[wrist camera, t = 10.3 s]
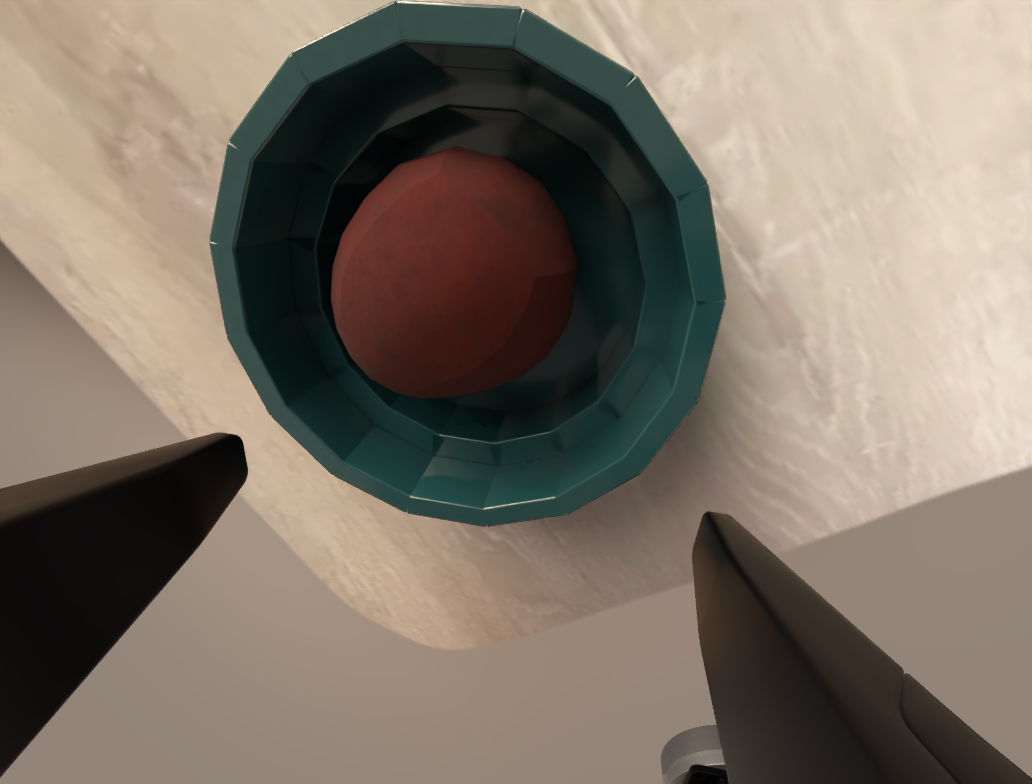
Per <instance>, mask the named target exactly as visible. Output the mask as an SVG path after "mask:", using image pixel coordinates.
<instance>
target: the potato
mask: <svg viewBox="0 0 1032 784" xmlns="http://www.w3.org/2000/svg"><path fill="white" fill-rule="evenodd" d="M577 269H578V261H577V257H576V254H575V250H574V246H573V243H572V239H571V235H570V232H569V228H568V224H567V221H566V218H565V217H564V215H563V213H562V212H561V210H560V209H559V207H558V206H557V204H556V203H555V201H554V200H553V198H552V197H551V195H550V194H549V192H548V191H547V189H546V188H545V186H544V185H543V183H542V182H540V181H539V180H537V179H536V178H534V177H533V176H531V175H530V174H529V173H527V172H526V171H524V170H523V169H521V168H520V167H518V166H517V165H515V164H514V163H512V162H511V161H509V160H507V159H504V158H501V157H497V156H493V155H489V154H486V153H482V152H478V151H474V150H470V149H466V148H463V147H459V146H454V147H451V148H448V149H445V150H441V151H438V152H435V153H432V154H429V155H426V156H423V157H420V158H417V159H413V160H410V161H407V162H404V163H401V164H398V165H397V166H396V167H395V168H394V169H393V170H392V171H391V172H390V173H389V174H388V175H387V176H386V177H385V178H384V179H383V180H382V181H381V182H380V183H379V184H378V185H377V186H376V187H375V188H374V189H373V190H372V191H371V192H370V193H369V194H368V196H367V197H366V198H365V199H364V200H363V202H362V204H361V205H360V207H359V208H358V210H357V212H356V213H355V215H354V216H353V218H352V220H351V221H350V223H349V224H348V226H347V228H346V229H345V231H344V232H343V234H342V237H341V240H340V244H339V247H338V250H337V254H336V257H335V260H334V264H333V267H332V286H331V302H332V307H333V312H334V318H335V323H336V328H337V331H338V333H339V335H340V337H341V339H342V341H343V343H344V345H345V347H346V349H347V351H348V353H349V355H350V357H351V358H352V359H353V360H354V361H355V362H356V364H357V365H358V366H359V367H360V368H361V369H362V370H363V371H364V372H365V373H366V375H367V376H368V377H369V378H370V379H372V380H374V381H375V382H377V383H379V384H381V385H383V386H384V387H386V388H388V389H390V390H392V391H393V392H395V393H399V394H404V395H408V396H413V397H417V398H444V397H454V396H459V395H464V394H470V393H476V392H481V391H487V390H490V389H493V388H495V387H498V386H500V385H502V384H505V383H507V382H510V381H512V380H515V379H517V378H519V377H522V376H524V375H525V374H526V373H528V372H529V371H530V370H531V369H532V368H534V367H535V366H536V365H537V364H539V363H540V362H541V361H542V360H544V359H545V358H546V357H547V356H548V354H549V353H550V351H551V350H552V348H553V347H554V345H555V344H556V342H557V341H558V339H559V338H560V336H561V335H562V333H563V332H564V330H565V329H566V327H567V324H568V321H569V318H570V316H571V313H572V308H573V300H574V292H575V285H576V277H577Z"/></svg>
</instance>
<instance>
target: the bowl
mask: <svg viewBox="0 0 1032 784" xmlns="http://www.w3.org/2000/svg"><path fill="white" fill-rule="evenodd" d="M229 141H230V142H229V143H228V144H227V150H226V155H225V160H224V165H223V171H222V176H221V181H220V187H219V192H218V197H217V203H216V208H215V213H214V219H213V224H212V229H211V234H210V241H211V242H210V249H211V255H212V260H213V265H214V271H215V276H216V282H217V287H218V292H219V298H220V303H221V309H222V314H223V319H224V325H225V330H226V334H227V335H228V336H227V338H228V340H229V342H230V344H231V346H232V347H233V349H234V351H235V353H236V355H237V357H238V358H239V360H240V362H241V364H242V366H243V367H244V369H245V371H246V373H247V375H248V376H249V378H250V380H251V382H252V384H253V385H254V387H255V389H256V391H257V393H258V394H259V396H260V398H261V400H262V402H263V403H264V405H265V407H266V409H267V411H268V412H269V414H270V415H272V418H273V419H274V420H275V421H277V422H278V423H279V424H280V425H281V426H282V427H283V428H284V429H285V430H286V431H287V432H288V433H289V434H290V435H291V436H292V437H293V438H294V439H295V440H296V441H297V442H298V443H299V444H300V445H301V446H302V447H304V448H305V449H306V450H307V451H308V452H309V453H310V454H311V455H312V456H313V457H314V458H315V459H316V460H317V461H318V462H319V463H320V464H321V465H322V466H323V467H324V468H325V469H326V470H327V471H328V472H329V473H331V474H332V475H334V476H335V477H337V478H339V479H341V480H343V481H345V482H347V483H349V484H351V485H353V486H355V487H356V488H358V489H360V490H362V491H364V492H366V493H368V494H370V495H372V496H374V497H376V498H378V499H380V500H382V501H384V502H386V503H388V504H390V505H392V506H393V507H395V508H397V509H399V510H401V511H403V512H407V513H408V514H414V515H419V516H425V517H431V518H437V519H442V520H448V521H454V522H460V523H465V524H471V525H477V526H483V527H486V526H488V527H490V526H496V525H503V524H509V523H516V522H522V521H529V520H535V519H542V518H548V517H555V516H561V515H565V514H570V513H571V512H573V511H575V510H577V509H579V508H580V507H582V506H584V505H586V504H587V503H589V502H591V501H593V500H595V499H596V498H598V497H600V496H602V495H604V494H605V493H607V492H609V491H611V490H613V489H614V488H616V487H618V486H620V485H621V484H623V483H625V482H627V481H629V480H630V479H632V478H634V477H636V476H638V475H639V474H640V473H641V472H643V470H644V469H645V468H646V467H647V465H648V464H649V463H650V462H651V460H652V459H653V458H654V457H655V455H656V454H657V453H658V452H659V450H660V449H661V448H662V447H663V445H664V444H665V443H666V442H667V440H668V439H669V438H670V437H671V435H672V434H673V433H674V432H675V430H676V429H677V428H678V427H679V425H680V424H681V423H682V422H683V420H684V419H685V418H686V417H687V415H688V414H689V413H690V412H691V410H692V409H693V408H694V407H695V405H696V404H697V403H698V399H699V398H700V395H701V392H702V388H703V384H704V381H705V377H706V373H707V370H708V366H709V362H710V358H711V355H712V351H713V347H714V344H715V340H716V336H717V333H718V329H719V325H720V321H721V318H722V314H723V310H724V307H725V300H726V292H725V286H724V279H723V273H722V266H721V260H720V254H719V247H718V241H717V234H716V228H715V222H714V215H713V209H712V202H711V196H710V190H709V185H708V184H707V180H706V178H705V177H704V175H703V174H702V172H701V171H700V169H699V168H698V166H697V165H696V163H695V162H694V160H693V159H692V157H691V156H690V154H689V153H688V151H687V150H686V148H685V147H684V145H683V144H682V142H681V141H680V139H679V137H678V136H677V134H676V133H675V131H674V130H673V128H672V127H671V125H670V124H669V122H668V121H667V119H666V118H665V116H664V115H663V113H662V112H661V110H660V109H659V107H658V106H657V104H656V103H655V101H654V100H653V98H652V97H651V95H650V94H649V92H648V91H647V89H646V88H645V86H644V85H643V83H642V81H641V80H640V78H639V77H638V76H635V75H634V73H633V72H632V71H630V70H628V69H626V68H625V67H623V66H621V65H620V64H618V63H616V62H615V61H613V60H611V59H610V58H608V57H606V56H605V55H603V54H601V53H600V52H598V51H596V50H595V49H593V48H591V47H589V46H588V45H586V44H584V43H583V42H581V41H579V40H578V39H576V38H574V37H573V36H571V35H569V34H568V33H566V32H564V31H563V30H561V29H559V28H558V27H556V26H554V25H553V24H551V23H549V22H547V21H546V20H544V19H542V18H541V17H539V16H537V15H536V14H534V13H532V12H531V11H529V10H527V9H523V10H522V8H521V7H519V6H502V5H482V4H463V3H443V2H424V1H404V0H399V1H397V2H396V1H393V2H391V3H389V4H387V5H385V6H383V7H380V8H378V9H376V10H374V11H372V12H370V13H368V14H366V15H364V16H362V17H360V18H358V19H356V20H354V21H352V22H350V23H348V24H346V25H344V26H342V27H340V28H338V29H336V30H334V31H332V32H330V33H328V34H326V35H324V36H322V37H320V38H318V39H316V40H314V41H312V42H310V43H308V44H306V45H304V46H302V47H300V48H298V49H296V50H294V51H292V54H291V55H289V56H288V57H287V59H286V60H285V62H284V63H283V65H282V66H281V67H280V69H279V70H278V72H277V73H276V74H275V76H274V77H273V79H272V80H271V81H270V83H269V84H268V86H267V87H266V88H265V90H264V91H263V93H262V94H261V95H260V97H259V98H258V100H257V101H256V102H255V104H254V105H253V107H252V108H251V109H250V111H249V112H248V114H247V115H246V116H245V118H244V119H243V121H242V122H241V123H240V125H239V126H238V128H237V129H236V130H235V132H234V133H233V135H232V136H231V137H230V140H229ZM454 146H459V147H463V148H466V149H470V150H474V151H478V152H482V153H486V154H489V155H493V156H497V157H501V158H504V159H507V160H509V161H511V162H512V163H514V164H515V165H517V166H518V167H520V168H521V169H523V170H524V171H526V172H527V173H529V174H530V175H531V176H533V177H534V178H536V179H537V180H539V181H540V182H542V183H543V185H544V186H545V188H546V189H547V191H548V192H549V194H550V195H551V197H552V198H553V200H554V201H555V203H556V204H557V206H558V207H559V209H560V210H561V212H562V213H563V215H564V217H565V218H566V221H567V224H568V228H569V232H570V235H571V239H572V243H573V246H574V250H575V254H576V257H577V261H578V269H577V277H576V285H575V292H574V300H573V308H572V313H571V316H570V318H569V321H568V324H567V327H566V329H565V330H564V332H563V333H562V335H561V336H560V338H559V339H558V341H557V342H556V344H555V345H554V347H553V348H552V350H551V351H550V353H549V354H548V356H547V357H546V358H545V359H544V360H542V361H541V362H540V363H539V364H537V365H536V366H535V367H534V368H532V369H531V370H530V371H529V372H528V373H526V374H525V375H524V376H522V377H519V378H517V379H515V380H512V381H510V382H507V383H505V384H502V385H500V386H498V387H495V388H493V389H490V390H487V391H481V392H476V393H470V394H464V395H459V396H454V397H444V398H417V397H413V396H408V395H404V394H399V393H395V392H393V391H392V390H390V389H388V388H386V387H384V386H383V385H381V384H379V383H377V382H375V381H374V380H372V379H370V378H369V377H368V376H367V375H366V373H365V372H364V371H363V370H362V369H361V368H360V367H359V366H358V365H357V364H356V362H355V361H354V360H353V359H352V358H351V357H350V355H349V353H348V351H347V349H346V347H345V345H344V343H343V341H342V339H341V337H340V335H339V333H338V331H337V328H336V323H335V318H334V312H333V307H332V302H331V286H332V267H333V264H334V260H335V257H336V254H337V250H338V247H339V244H340V240H341V237H342V234H343V232H344V231H345V229H346V228H347V226H348V224H349V223H350V221H351V220H352V218H353V216H354V215H355V213H356V212H357V210H358V208H359V207H360V205H361V204H362V202H363V200H364V199H365V198H366V197H367V196H368V194H369V193H370V192H371V191H372V190H373V189H374V188H375V187H376V186H377V185H378V184H379V183H380V182H381V181H382V180H383V179H384V178H385V177H386V176H387V175H388V174H389V173H390V172H391V171H392V170H393V169H394V168H395V167H396V166H397V165H398V164H401V163H404V162H407V161H410V160H413V159H417V158H420V157H423V156H426V155H429V154H432V153H435V152H438V151H441V150H445V149H448V148H451V147H454Z"/></svg>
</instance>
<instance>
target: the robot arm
mask: <svg viewBox="0 0 1032 784" xmlns="http://www.w3.org/2000/svg"><path fill="white" fill-rule="evenodd" d="M247 475H248V467H247V462H246V456H245V451H244V445H243V441H242V439H241V438H240V437H239V436H237V435H233V434H227V433H213V434H210V435H206V436H202V437H198V438H194V439H190V440H187V441H183V442H179V443H175V444H171V445H167V446H164V447H160V448H156V449H152V450H148V451H145V452H141V453H137V454H133V455H129V456H125V457H122V458H118V459H114V460H110V461H106V462H102V463H98V464H95V465H91V466H87V467H83V468H79V469H76V470H72V471H68V472H64V473H60V474H56V475H52V476H48V477H45V478H41V479H37V480H33V481H29V482H26V483H22V484H18V485H14V486H10V487H7V488H2V489H0V777H1V776H2V775H3V774H4V773H5V772H6V770H7V769H8V768H9V767H10V765H12V763H13V762H14V761H15V760H16V759H17V758H18V756H19V755H20V754H21V753H22V752H23V751H24V750H25V748H26V747H27V746H28V745H29V744H30V742H31V741H32V740H33V739H34V738H35V737H36V736H37V734H38V733H39V732H40V731H41V730H42V729H43V727H44V726H45V725H46V724H47V723H48V722H49V720H50V719H51V718H52V717H53V716H54V715H55V713H56V712H57V711H58V710H59V709H60V708H61V706H62V705H63V704H64V703H65V702H66V701H67V699H68V698H69V697H70V696H71V695H72V694H73V693H74V691H75V690H76V689H77V688H78V687H79V685H80V684H81V683H82V682H83V681H84V680H85V679H86V677H87V676H88V675H89V674H90V672H91V671H92V670H93V669H94V668H95V667H96V666H97V665H98V663H99V662H100V661H101V660H102V659H103V658H104V656H105V655H106V654H107V653H108V652H109V651H110V650H111V648H112V647H113V646H114V645H115V644H116V643H117V641H118V640H119V639H120V638H121V637H122V636H123V634H124V633H125V632H126V631H127V630H128V629H129V627H130V626H131V625H132V624H133V623H134V622H135V620H136V619H137V618H138V617H139V616H140V615H141V614H142V612H143V611H144V610H145V609H146V607H148V605H149V604H150V603H151V602H152V601H153V600H154V598H155V597H156V596H157V595H158V594H159V592H160V591H161V590H162V589H163V588H164V587H165V586H166V584H167V583H168V582H169V581H170V580H171V578H172V577H173V576H174V575H175V574H176V573H177V572H178V570H179V569H180V568H181V567H182V566H183V564H185V562H186V561H187V560H188V559H189V558H190V557H191V555H192V554H193V553H194V552H195V550H196V549H197V548H198V547H199V546H200V544H201V543H202V542H203V540H204V539H205V538H206V536H207V535H208V534H209V532H210V531H211V529H212V528H213V527H214V525H215V524H216V522H217V521H218V520H219V518H220V517H221V515H222V514H223V512H224V511H225V509H226V508H227V507H228V505H229V504H230V503H231V501H232V500H233V498H234V497H235V496H236V494H237V493H238V491H239V490H240V489H241V487H242V486H243V484H244V483H245V481H246V479H247ZM692 564H693V575H694V586H695V598H696V609H697V619H698V631H699V639H700V646H701V651H702V656H703V661H704V666H705V671H706V676H707V680H708V685H709V690H710V694H711V700H712V705H713V709H714V714H715V719H716V724H717V729H718V733H719V738H720V743H721V748H722V753H723V757H724V762H725V767H726V770H723V769H718V768H714V767H709V766H705V765H700V764H694V765H692V766H690V768H689V770H688V772H687V775H686V777H685V780H684V782H683V784H1032V778H1031V777H1030V776H1028V775H1027V774H1026V773H1025V772H1023V771H1022V770H1021V769H1020V768H1019V767H1017V766H1016V765H1015V764H1014V763H1012V762H1011V761H1010V760H1009V759H1008V758H1006V757H1005V756H1004V755H1003V754H1001V753H1000V752H999V751H998V750H996V749H995V748H994V747H993V746H992V745H990V744H989V743H988V742H987V741H985V740H984V739H983V738H982V737H980V736H979V735H978V734H977V733H976V732H975V731H974V730H973V729H971V728H970V727H969V726H968V725H967V724H966V723H964V722H963V721H962V720H961V719H960V718H959V717H957V716H956V715H955V714H954V713H953V712H952V711H950V710H949V709H948V708H947V707H946V706H945V705H943V704H942V703H941V702H940V701H939V700H938V699H937V698H935V697H934V696H933V695H932V694H931V693H930V692H929V691H928V690H926V689H925V688H924V687H923V686H922V685H921V684H920V683H919V682H917V681H916V680H915V679H914V678H913V677H912V676H911V675H909V674H907V673H905V674H904V671H903V669H902V668H901V667H900V666H899V665H898V664H897V663H896V662H894V660H892V659H891V658H890V657H889V656H888V655H887V654H886V653H885V652H883V651H882V650H881V649H880V648H879V647H878V646H877V645H875V644H874V643H873V642H872V641H871V640H870V639H869V638H868V637H867V636H865V635H864V634H863V633H862V632H861V631H860V630H859V629H858V628H856V627H855V626H854V625H853V624H852V623H851V622H850V621H849V620H847V619H846V618H845V617H844V616H843V615H842V614H841V613H840V612H838V611H837V610H836V609H835V608H834V607H833V606H832V605H831V604H829V603H828V602H827V601H826V600H825V599H824V598H823V597H822V596H820V595H819V594H818V593H817V592H816V591H815V590H814V589H813V588H811V587H810V586H809V585H808V584H807V583H806V582H805V581H804V580H803V579H801V578H800V577H799V576H798V575H797V574H796V573H795V572H794V571H792V570H791V569H790V568H789V567H788V566H787V565H786V564H785V563H783V562H782V561H781V560H780V559H779V558H778V557H777V556H776V555H774V554H773V553H772V552H771V551H770V550H769V549H768V548H767V547H765V546H764V545H763V544H762V543H761V542H760V541H759V540H758V539H756V538H755V537H754V536H753V535H752V534H751V533H750V532H749V531H747V530H746V529H745V528H744V527H743V526H742V525H741V524H740V523H738V522H737V521H736V520H735V519H734V518H733V517H731V516H730V515H728V514H723V513H716V512H710V511H708V512H706V513H704V515H703V516H702V519H701V522H700V526H699V529H698V532H697V536H696V539H695V543H694V546H693V552H692Z"/></svg>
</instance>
